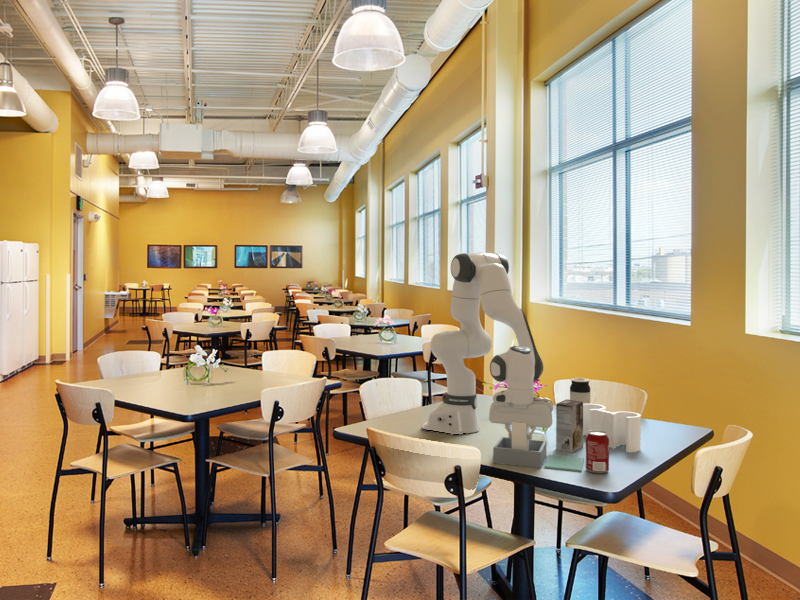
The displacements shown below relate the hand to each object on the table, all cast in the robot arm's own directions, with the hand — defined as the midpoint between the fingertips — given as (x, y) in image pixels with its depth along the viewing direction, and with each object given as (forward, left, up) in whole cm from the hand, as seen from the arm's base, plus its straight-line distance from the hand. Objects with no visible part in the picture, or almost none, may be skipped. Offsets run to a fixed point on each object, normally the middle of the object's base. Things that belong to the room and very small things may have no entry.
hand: (520, 438), depth 193 cm
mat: (+14, 0, -7) cm, 16 cm away
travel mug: (+15, +58, -7) cm, 60 cm away
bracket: (+27, +30, -7) cm, 41 cm away
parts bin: (0, 0, -7) cm, 7 cm away
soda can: (+24, -4, -7) cm, 25 cm away
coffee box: (+14, +19, -7) cm, 25 cm away
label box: (0, 0, -4) cm, 4 cm away
